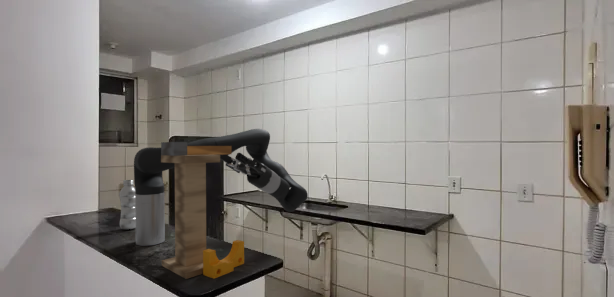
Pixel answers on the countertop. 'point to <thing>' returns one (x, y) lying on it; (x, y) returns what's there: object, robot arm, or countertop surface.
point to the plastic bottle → (128, 205)
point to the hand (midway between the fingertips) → (228, 155)
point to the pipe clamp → (223, 260)
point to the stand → (189, 213)
